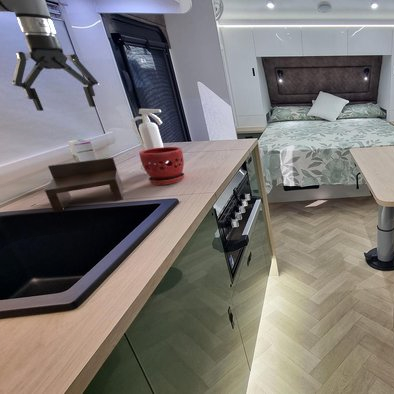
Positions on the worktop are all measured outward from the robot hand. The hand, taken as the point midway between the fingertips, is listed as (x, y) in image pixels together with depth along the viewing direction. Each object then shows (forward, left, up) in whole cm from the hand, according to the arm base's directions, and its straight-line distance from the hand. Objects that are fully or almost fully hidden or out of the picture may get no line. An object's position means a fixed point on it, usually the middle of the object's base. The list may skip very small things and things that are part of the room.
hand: (68, 108), depth 96 cm
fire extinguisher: (+20, +5, -27) cm, 34 cm away
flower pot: (+22, -12, -27) cm, 37 cm away
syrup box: (-2, +13, -27) cm, 30 cm away
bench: (0, -17, -27) cm, 32 cm away
